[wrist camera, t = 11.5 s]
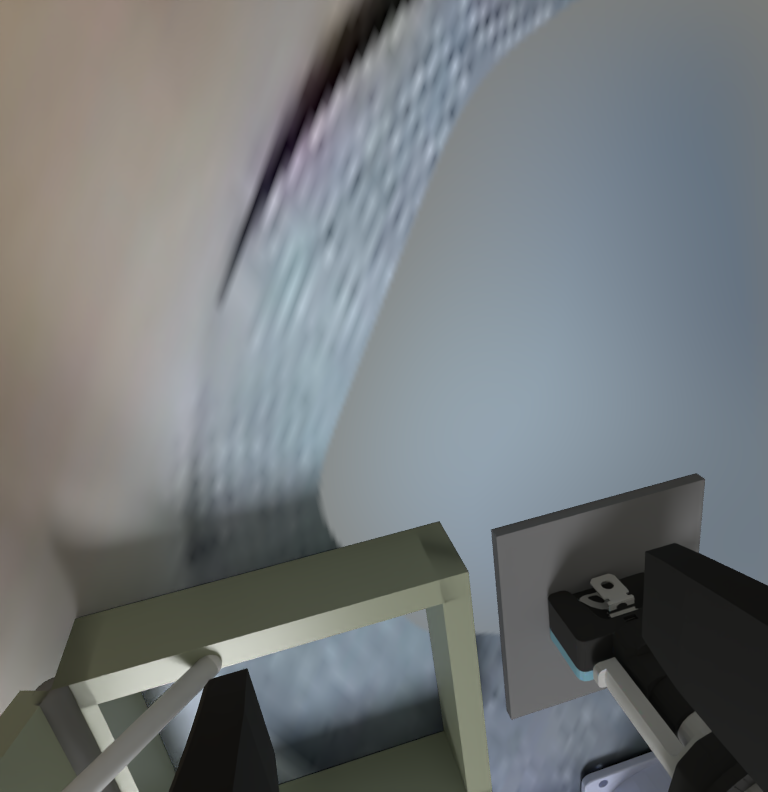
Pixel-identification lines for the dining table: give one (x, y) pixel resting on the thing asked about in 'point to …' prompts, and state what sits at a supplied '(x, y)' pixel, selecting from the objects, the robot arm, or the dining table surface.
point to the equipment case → (244, 640)
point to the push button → (640, 682)
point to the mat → (577, 576)
